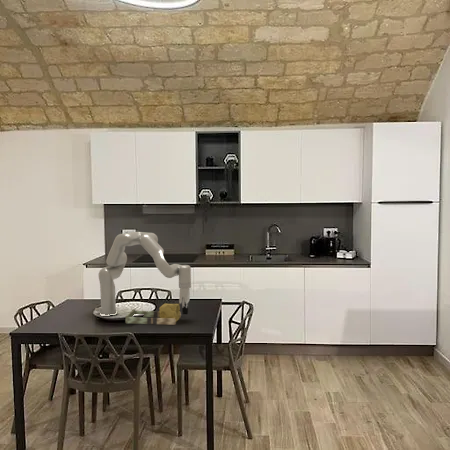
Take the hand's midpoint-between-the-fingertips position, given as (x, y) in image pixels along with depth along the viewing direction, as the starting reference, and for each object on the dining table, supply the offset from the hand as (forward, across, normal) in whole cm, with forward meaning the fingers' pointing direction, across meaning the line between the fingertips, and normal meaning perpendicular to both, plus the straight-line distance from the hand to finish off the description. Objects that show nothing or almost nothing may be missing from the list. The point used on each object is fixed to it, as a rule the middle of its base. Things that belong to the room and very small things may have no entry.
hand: (185, 313), depth 299 cm
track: (+4, 0, -20) cm, 20 cm away
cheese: (+5, 0, -10) cm, 11 cm away
